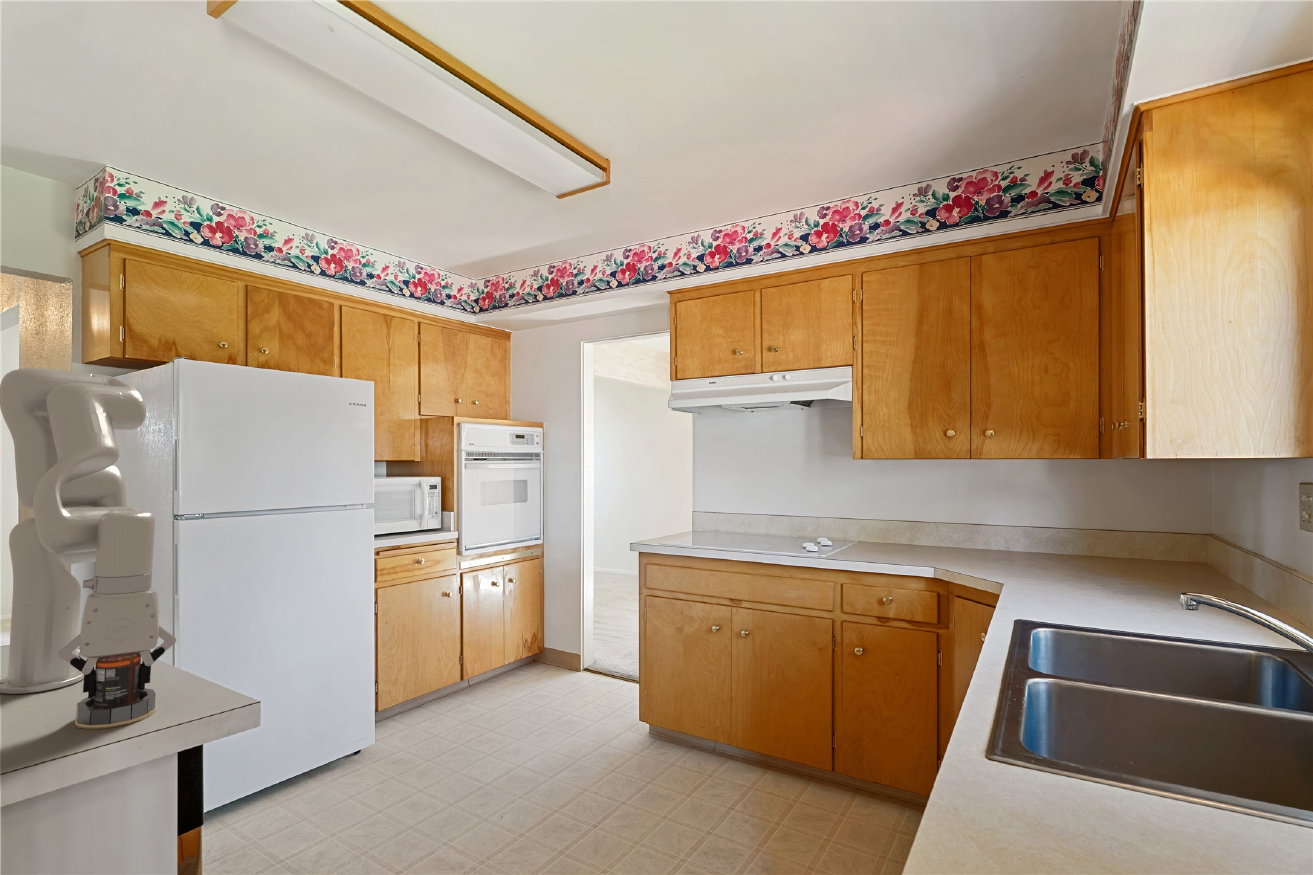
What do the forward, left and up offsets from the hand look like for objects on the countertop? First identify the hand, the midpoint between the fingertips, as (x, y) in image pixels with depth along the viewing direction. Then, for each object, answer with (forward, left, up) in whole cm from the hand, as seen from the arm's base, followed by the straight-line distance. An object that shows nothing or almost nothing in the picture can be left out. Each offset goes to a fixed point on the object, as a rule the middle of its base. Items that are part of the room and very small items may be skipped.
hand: (117, 690), depth 109 cm
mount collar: (0, 0, -4) cm, 4 cm away
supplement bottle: (0, 0, -3) cm, 3 cm away
